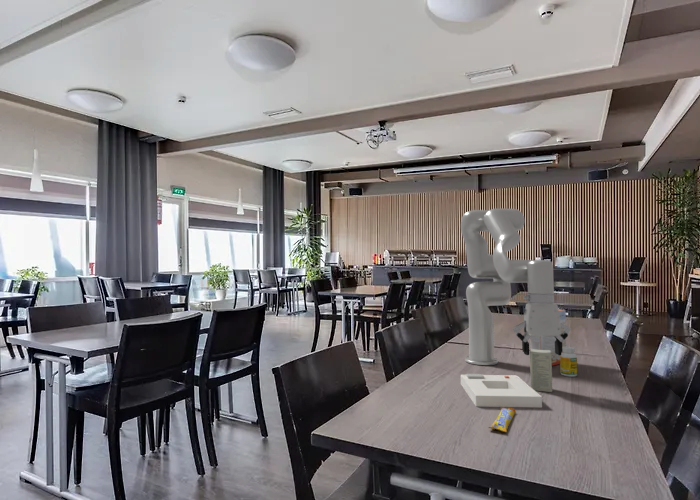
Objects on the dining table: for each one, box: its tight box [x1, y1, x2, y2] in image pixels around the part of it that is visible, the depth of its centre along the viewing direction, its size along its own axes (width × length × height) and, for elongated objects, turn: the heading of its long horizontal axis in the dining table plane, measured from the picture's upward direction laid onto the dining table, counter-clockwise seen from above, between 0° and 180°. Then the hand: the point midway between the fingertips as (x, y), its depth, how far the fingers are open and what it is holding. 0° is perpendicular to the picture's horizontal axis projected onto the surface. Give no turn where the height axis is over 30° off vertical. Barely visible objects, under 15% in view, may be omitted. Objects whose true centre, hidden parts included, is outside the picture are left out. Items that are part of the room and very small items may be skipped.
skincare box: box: [529, 349, 553, 393], centre depth 139 cm, size 6×4×12 cm
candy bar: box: [488, 407, 517, 433], centre depth 112 cm, size 17×4×2 cm, turn 151°
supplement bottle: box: [559, 346, 578, 378], centre depth 156 cm, size 5×5×10 cm
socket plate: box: [460, 373, 543, 408], centre depth 134 cm, size 22×18×4 cm
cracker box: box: [529, 308, 567, 366], centre depth 173 cm, size 14×6×21 cm, turn 115°
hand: (542, 354), depth 139 cm, fingers open, 9 cm apart
